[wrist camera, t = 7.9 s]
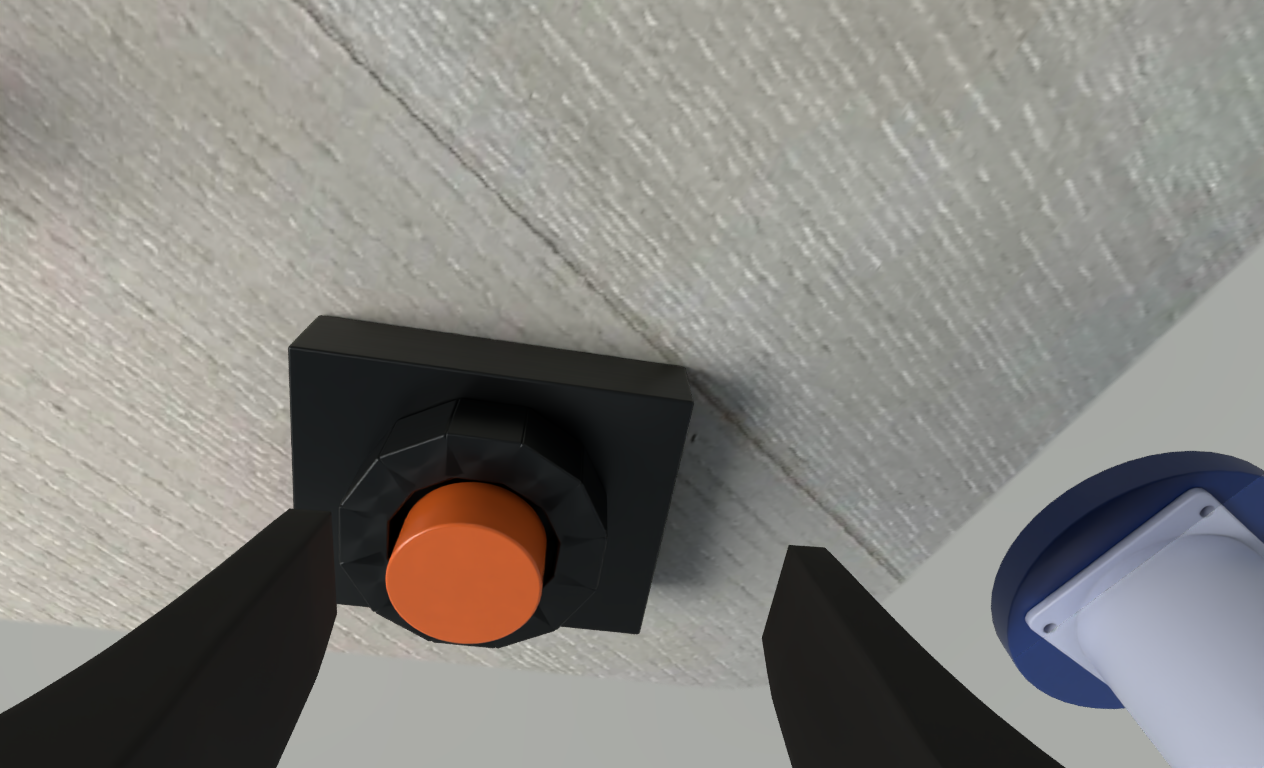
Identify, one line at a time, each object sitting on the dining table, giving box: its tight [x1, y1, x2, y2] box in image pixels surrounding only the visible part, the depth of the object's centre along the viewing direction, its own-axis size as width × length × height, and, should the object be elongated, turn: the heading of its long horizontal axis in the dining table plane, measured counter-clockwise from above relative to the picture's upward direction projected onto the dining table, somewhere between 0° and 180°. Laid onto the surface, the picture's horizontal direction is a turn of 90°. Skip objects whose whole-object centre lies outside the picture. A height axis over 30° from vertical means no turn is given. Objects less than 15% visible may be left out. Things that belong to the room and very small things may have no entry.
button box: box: [288, 315, 694, 648], centre depth 20 cm, size 10×8×4 cm
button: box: [385, 482, 547, 644], centre depth 18 cm, size 4×4×2 cm
